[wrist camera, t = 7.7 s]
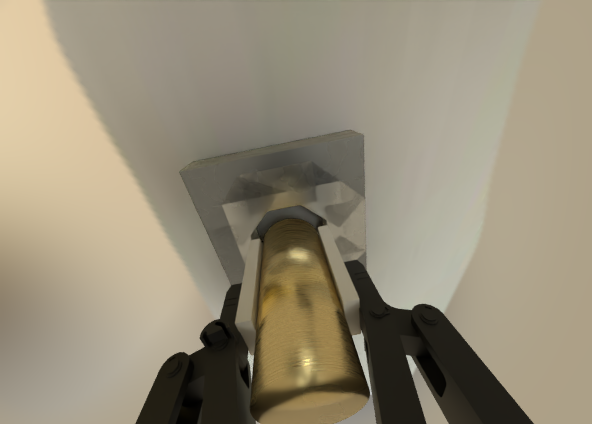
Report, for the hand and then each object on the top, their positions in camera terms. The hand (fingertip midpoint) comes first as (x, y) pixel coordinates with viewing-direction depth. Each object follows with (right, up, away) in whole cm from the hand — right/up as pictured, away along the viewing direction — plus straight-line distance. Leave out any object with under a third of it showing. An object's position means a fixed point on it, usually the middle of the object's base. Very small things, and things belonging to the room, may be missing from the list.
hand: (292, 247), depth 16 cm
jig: (0, +2, +3) cm, 3 cm away
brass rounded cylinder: (0, 0, +1) cm, 1 cm away
